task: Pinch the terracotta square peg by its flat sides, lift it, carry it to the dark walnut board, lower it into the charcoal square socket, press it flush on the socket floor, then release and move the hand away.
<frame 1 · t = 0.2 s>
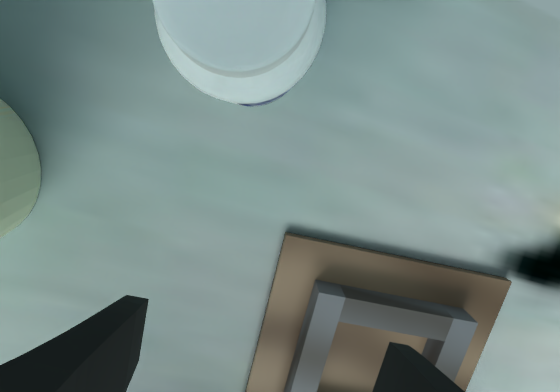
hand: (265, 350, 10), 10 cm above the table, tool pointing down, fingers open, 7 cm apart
pill bottle: (250, 52, 18), on the table
socket board: (366, 355, 22), on the table
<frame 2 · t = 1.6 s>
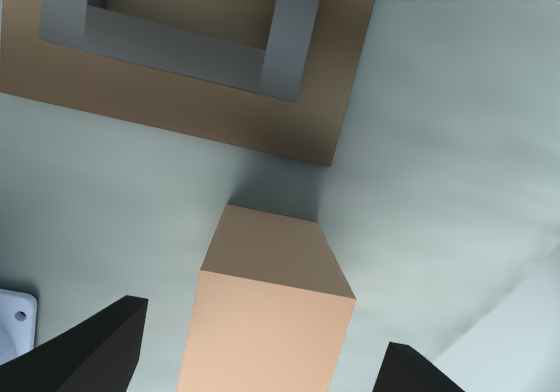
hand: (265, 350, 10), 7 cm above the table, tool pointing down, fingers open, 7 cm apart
terracotta peg: (262, 255, 17), on the table
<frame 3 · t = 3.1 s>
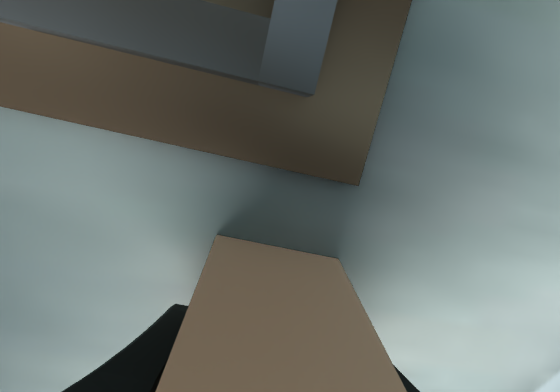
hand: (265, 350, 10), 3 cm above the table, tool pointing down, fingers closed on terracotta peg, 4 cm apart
terracotta peg: (264, 302, 13), on the table, touching gripper
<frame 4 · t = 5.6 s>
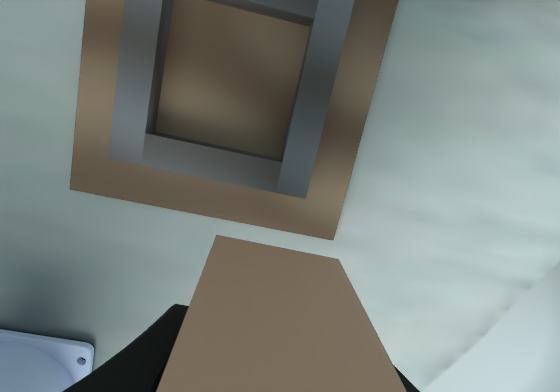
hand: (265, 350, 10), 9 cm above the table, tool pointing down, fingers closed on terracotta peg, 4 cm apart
terracotta peg: (265, 302, 13), point 7 cm above the table, touching gripper
socket board: (231, 81, 17), on the table
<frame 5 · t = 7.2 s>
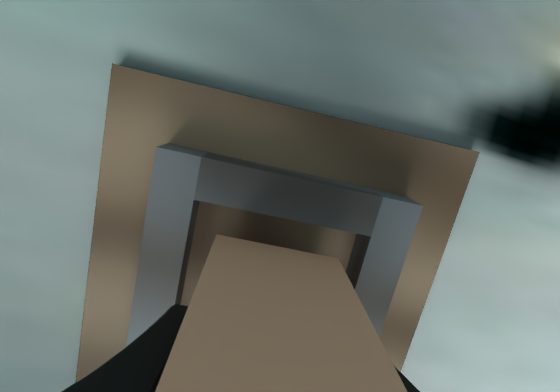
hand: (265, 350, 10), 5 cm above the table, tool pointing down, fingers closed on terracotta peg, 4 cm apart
terracotta peg: (265, 301, 13), point 2 cm above the table, touching gripper
socket board: (264, 274, 15), on the table
when the fingers open (3 cm above the table, at t = 8.2 s): terracotta peg stays where it is, resting on socket board.
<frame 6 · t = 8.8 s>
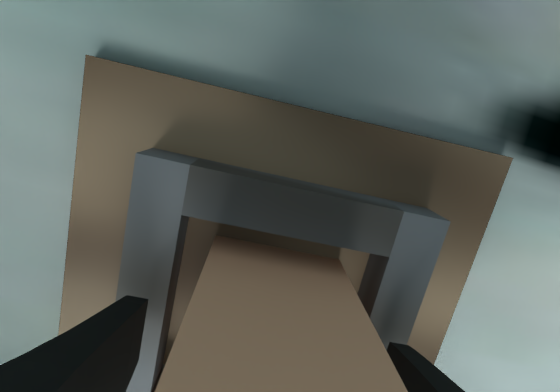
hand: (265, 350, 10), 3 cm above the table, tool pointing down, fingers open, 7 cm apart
terracotta peg: (265, 303, 12), resting on socket board
socket board: (265, 296, 13), on the table
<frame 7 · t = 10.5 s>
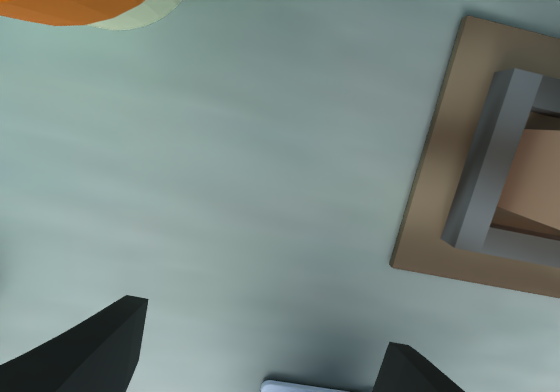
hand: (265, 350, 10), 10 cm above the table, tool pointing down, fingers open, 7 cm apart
terracotta peg: (543, 175, 19), resting on socket board
socket board: (536, 174, 20), on the table
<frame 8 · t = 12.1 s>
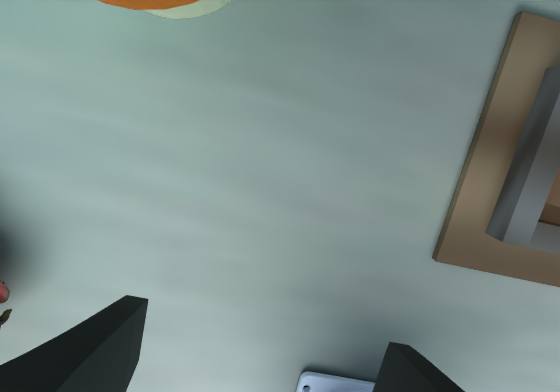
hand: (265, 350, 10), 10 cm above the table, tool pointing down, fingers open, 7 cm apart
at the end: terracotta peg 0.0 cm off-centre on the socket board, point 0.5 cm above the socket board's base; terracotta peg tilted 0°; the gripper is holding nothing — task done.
